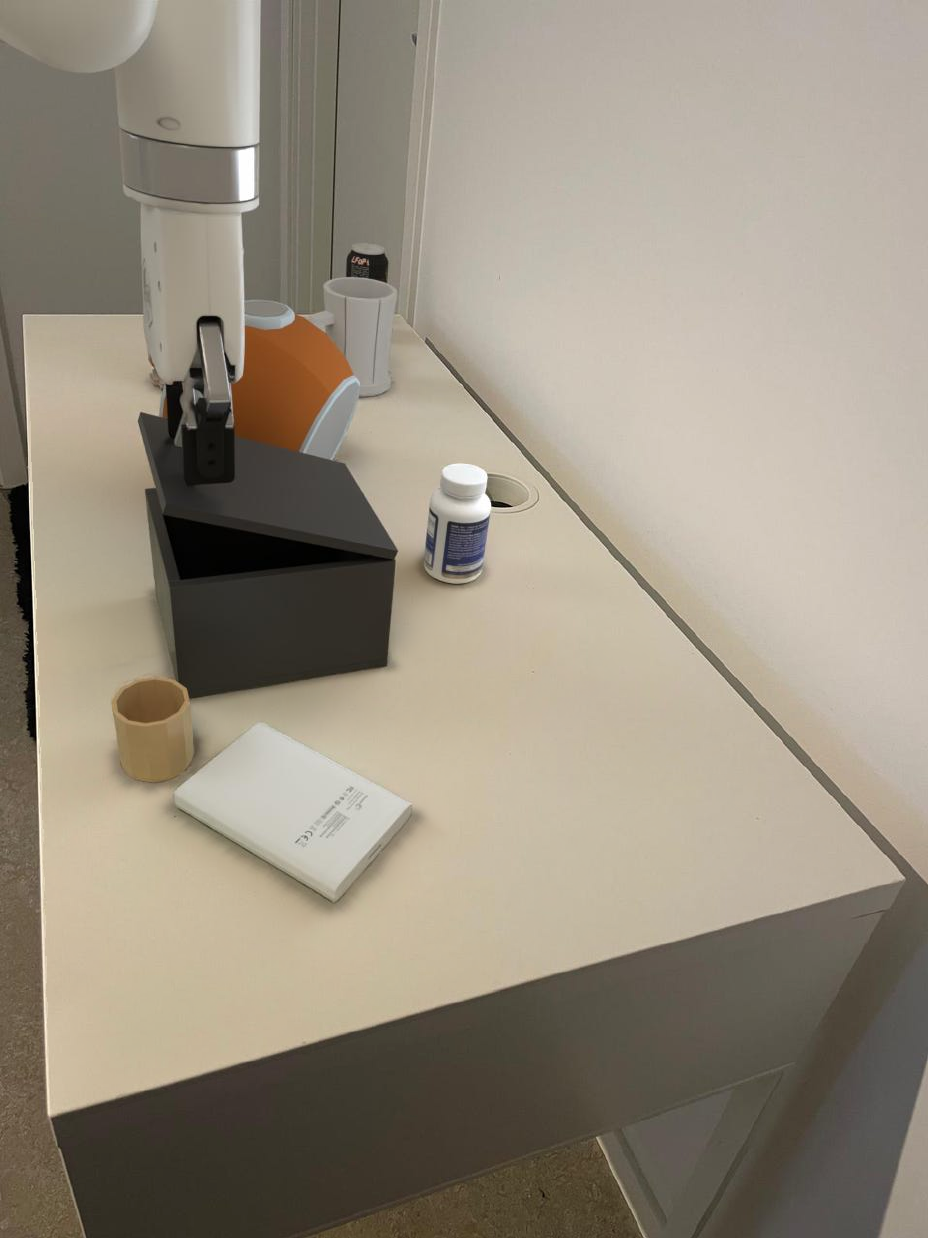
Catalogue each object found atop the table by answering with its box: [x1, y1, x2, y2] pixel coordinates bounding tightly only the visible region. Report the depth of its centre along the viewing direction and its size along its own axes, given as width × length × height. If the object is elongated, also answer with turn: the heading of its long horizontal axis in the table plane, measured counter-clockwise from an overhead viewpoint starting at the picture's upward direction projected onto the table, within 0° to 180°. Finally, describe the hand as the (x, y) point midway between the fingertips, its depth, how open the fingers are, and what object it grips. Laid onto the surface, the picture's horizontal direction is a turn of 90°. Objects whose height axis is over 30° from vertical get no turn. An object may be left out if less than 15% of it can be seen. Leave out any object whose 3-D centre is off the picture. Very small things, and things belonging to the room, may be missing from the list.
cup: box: [306, 276, 398, 398], centre depth 110 cm, size 10×9×12 cm
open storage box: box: [144, 487, 397, 700], centre depth 69 cm, size 16×14×10 cm
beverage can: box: [345, 242, 390, 284], centre depth 126 cm, size 6×6×12 cm
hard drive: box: [173, 721, 413, 903], centre depth 57 cm, size 2×8×12 cm
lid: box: [137, 389, 399, 560], centre depth 64 cm, size 16×14×5 cm
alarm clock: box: [158, 299, 360, 461], centre depth 87 cm, size 19×18×17 cm
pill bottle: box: [423, 462, 492, 585], centre depth 80 cm, size 5×5×10 cm
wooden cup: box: [111, 675, 195, 783], centre depth 58 cm, size 5×5×5 cm
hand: (200, 456), depth 61 cm, fingers closed on lid, 6 cm apart
